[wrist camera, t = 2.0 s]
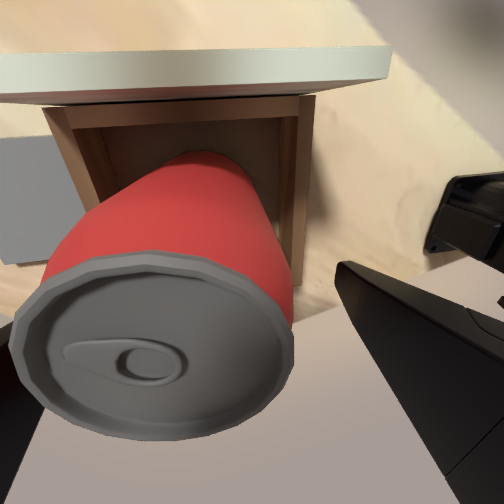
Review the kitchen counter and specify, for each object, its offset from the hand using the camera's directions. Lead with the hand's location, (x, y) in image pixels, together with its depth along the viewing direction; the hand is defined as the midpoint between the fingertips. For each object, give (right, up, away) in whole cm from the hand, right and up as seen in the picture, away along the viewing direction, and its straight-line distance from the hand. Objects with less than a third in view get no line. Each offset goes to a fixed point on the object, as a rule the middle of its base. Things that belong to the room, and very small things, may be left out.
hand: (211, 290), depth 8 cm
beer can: (-2, +5, +8) cm, 9 cm away
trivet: (-11, +4, +6) cm, 13 cm away
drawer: (-2, +5, +8) cm, 9 cm away
